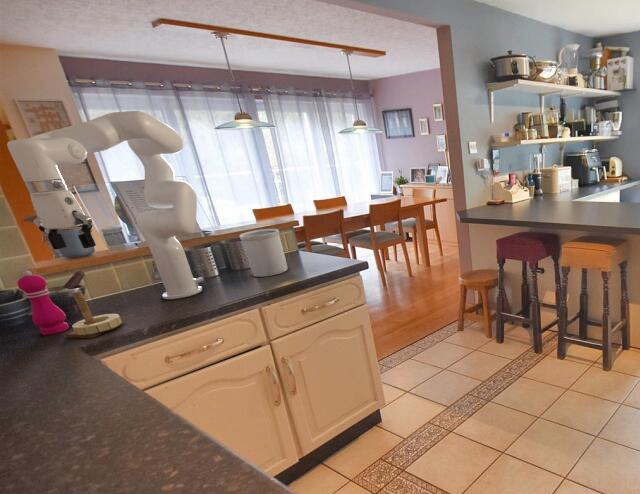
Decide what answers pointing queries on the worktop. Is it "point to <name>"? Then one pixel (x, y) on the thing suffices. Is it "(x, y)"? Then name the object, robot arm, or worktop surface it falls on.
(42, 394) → the worktop surface
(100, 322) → the tape
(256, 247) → the utensil holder
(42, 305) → the pepper mill
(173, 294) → the robot arm
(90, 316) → the wooden peg stand
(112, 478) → the worktop surface
